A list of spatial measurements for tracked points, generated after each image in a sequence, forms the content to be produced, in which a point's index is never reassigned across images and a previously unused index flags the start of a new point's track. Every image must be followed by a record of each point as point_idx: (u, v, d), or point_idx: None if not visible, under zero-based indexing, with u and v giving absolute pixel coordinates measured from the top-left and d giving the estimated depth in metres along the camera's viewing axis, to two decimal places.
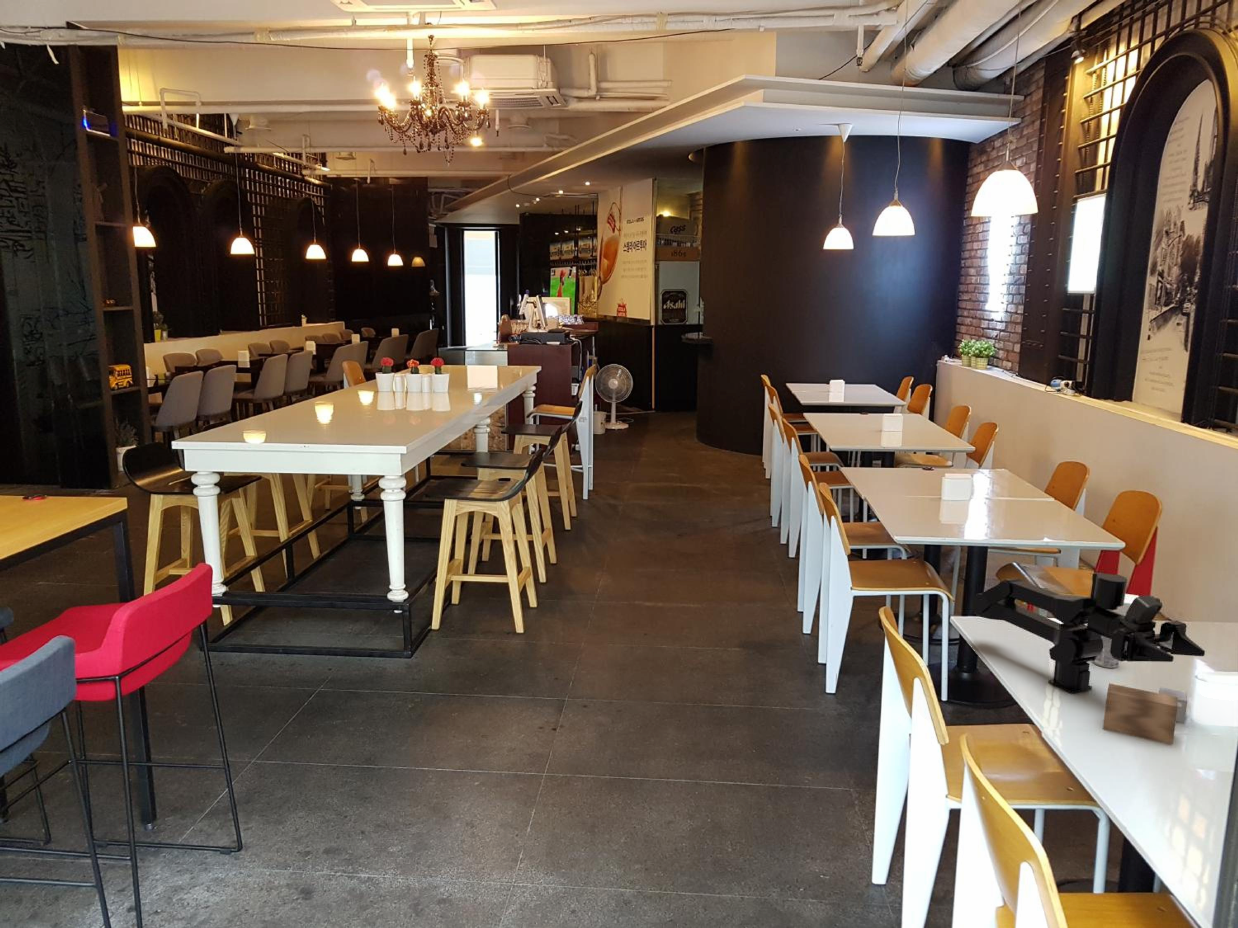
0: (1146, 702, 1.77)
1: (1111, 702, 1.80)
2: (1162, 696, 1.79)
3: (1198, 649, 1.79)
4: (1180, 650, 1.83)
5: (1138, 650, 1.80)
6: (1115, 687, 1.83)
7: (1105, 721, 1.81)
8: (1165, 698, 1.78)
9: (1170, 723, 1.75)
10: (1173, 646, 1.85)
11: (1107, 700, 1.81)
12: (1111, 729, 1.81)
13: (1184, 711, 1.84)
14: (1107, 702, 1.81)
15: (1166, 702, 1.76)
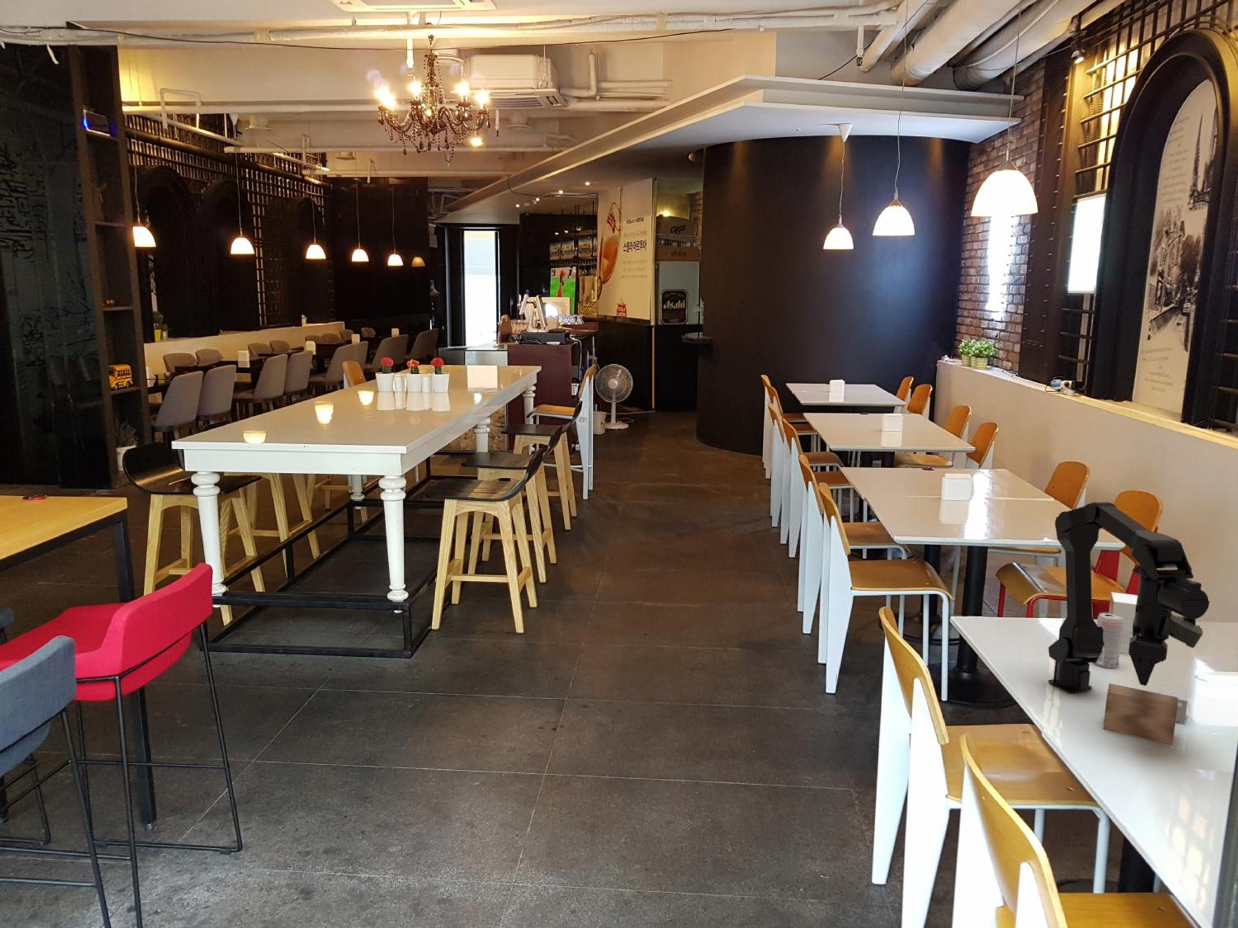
0: (1146, 702, 1.77)
1: (1111, 702, 1.80)
2: (1162, 696, 1.79)
3: None
4: None
5: None
6: (1115, 687, 1.83)
7: (1105, 721, 1.81)
8: (1165, 698, 1.78)
9: (1170, 723, 1.75)
10: None
11: (1107, 700, 1.81)
12: (1111, 729, 1.81)
13: (1184, 711, 1.84)
14: (1107, 702, 1.81)
15: (1166, 702, 1.76)
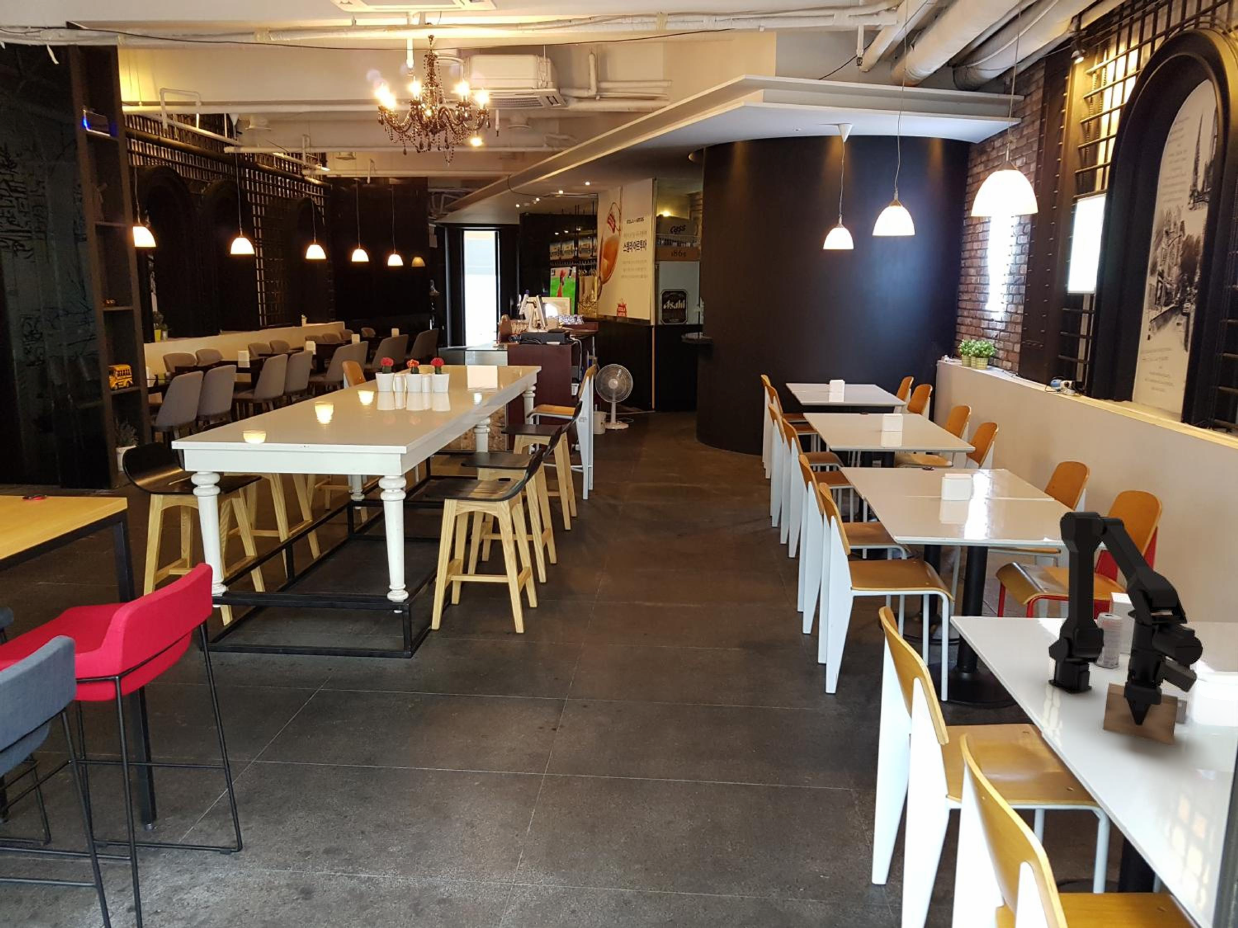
0: None
1: (1112, 701, 1.80)
2: (1162, 696, 1.79)
3: None
4: None
5: None
6: (1115, 687, 1.83)
7: (1105, 721, 1.81)
8: (1165, 697, 1.78)
9: (1170, 723, 1.75)
10: None
11: (1107, 700, 1.81)
12: (1111, 729, 1.81)
13: (1184, 711, 1.84)
14: (1107, 702, 1.81)
15: (1166, 701, 1.76)
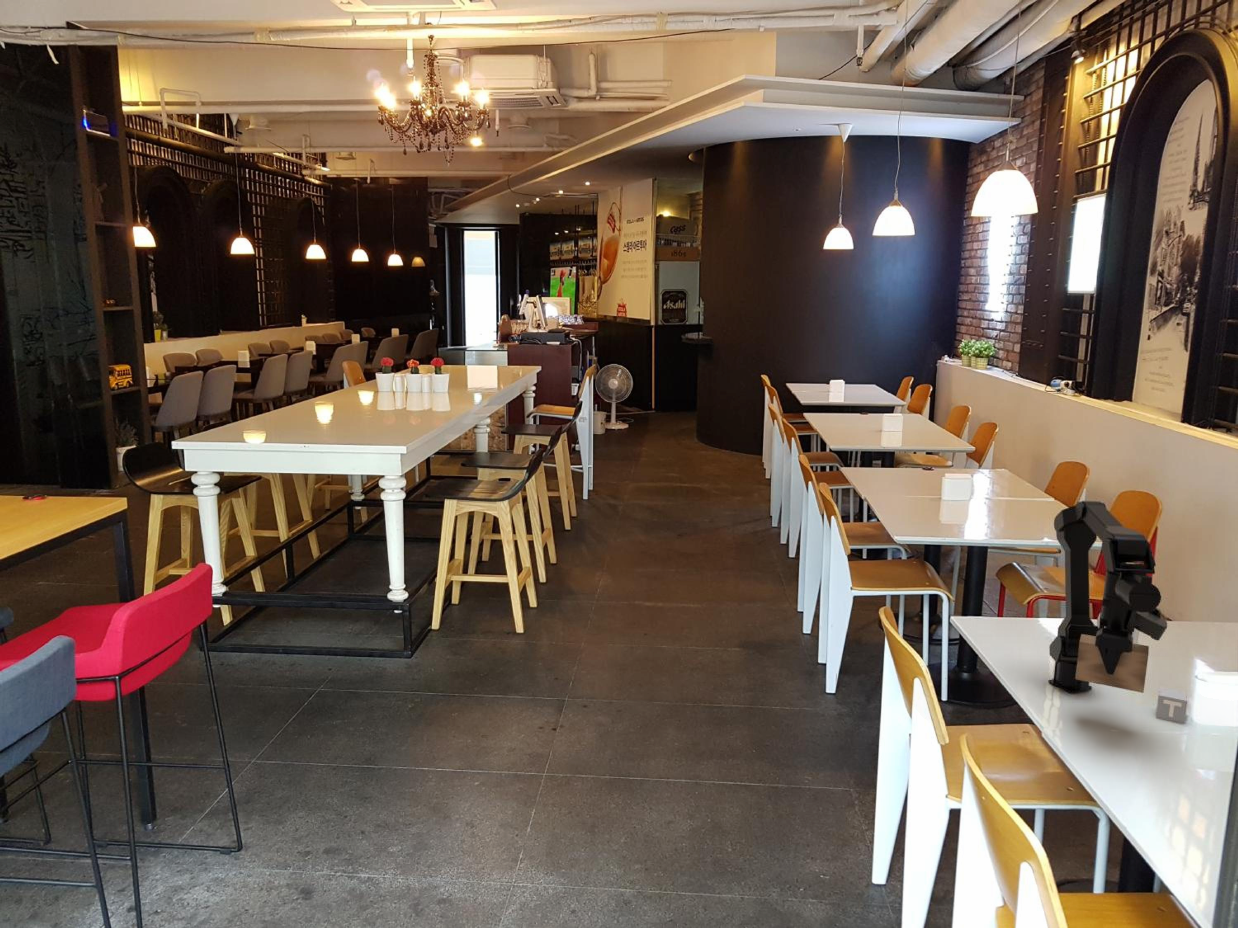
0: None
1: (1084, 651, 1.81)
2: (1133, 645, 1.80)
3: None
4: None
5: None
6: (1087, 637, 1.84)
7: (1077, 671, 1.83)
8: (1136, 646, 1.79)
9: (1141, 671, 1.77)
10: None
11: (1079, 650, 1.82)
12: (1083, 679, 1.82)
13: (1184, 711, 1.84)
14: (1079, 652, 1.82)
15: (1137, 650, 1.77)
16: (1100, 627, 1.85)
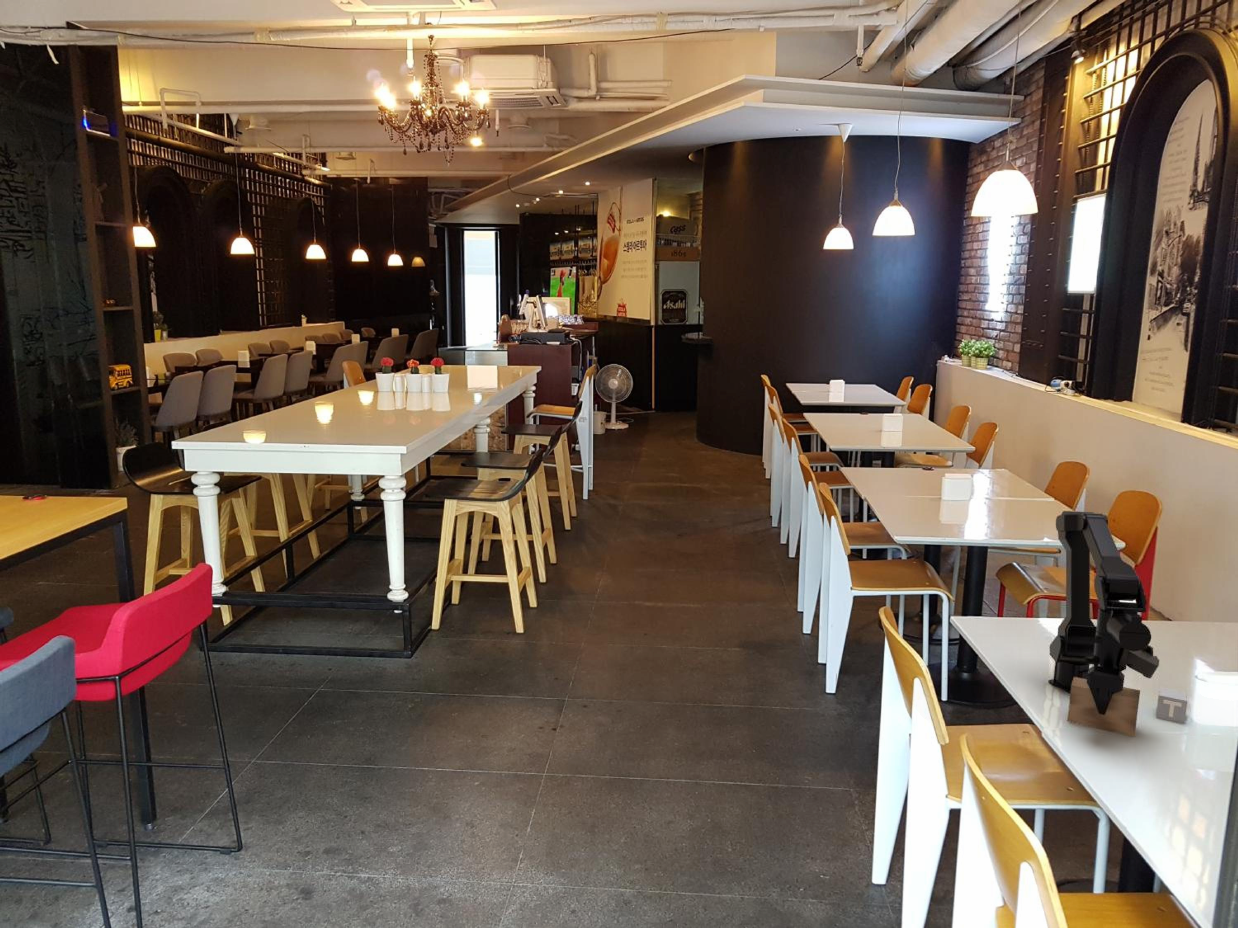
0: None
1: (1075, 695, 1.83)
2: (1125, 689, 1.82)
3: None
4: None
5: None
6: (1080, 680, 1.86)
7: (1069, 714, 1.84)
8: (1128, 691, 1.81)
9: (1132, 716, 1.78)
10: None
11: (1071, 693, 1.84)
12: (1075, 722, 1.84)
13: (1184, 711, 1.84)
14: (1071, 695, 1.84)
15: (1128, 695, 1.79)
16: None
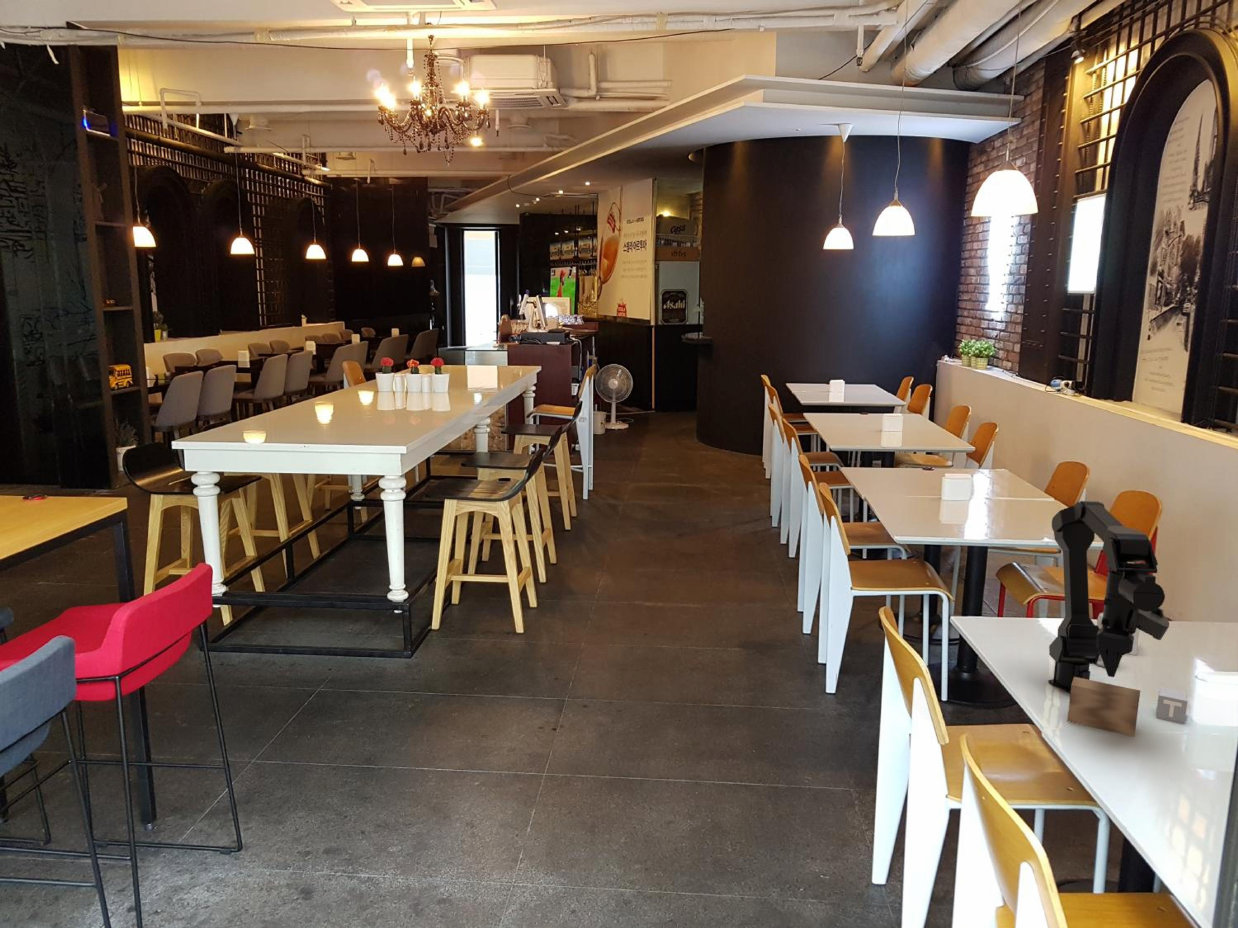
0: (1108, 695, 1.80)
1: (1075, 695, 1.83)
2: (1125, 689, 1.82)
3: None
4: None
5: None
6: (1080, 680, 1.86)
7: (1069, 714, 1.85)
8: (1128, 691, 1.81)
9: (1132, 716, 1.78)
10: None
11: (1071, 693, 1.84)
12: (1075, 721, 1.84)
13: (1184, 711, 1.84)
14: (1071, 695, 1.84)
15: (1128, 695, 1.79)
16: None
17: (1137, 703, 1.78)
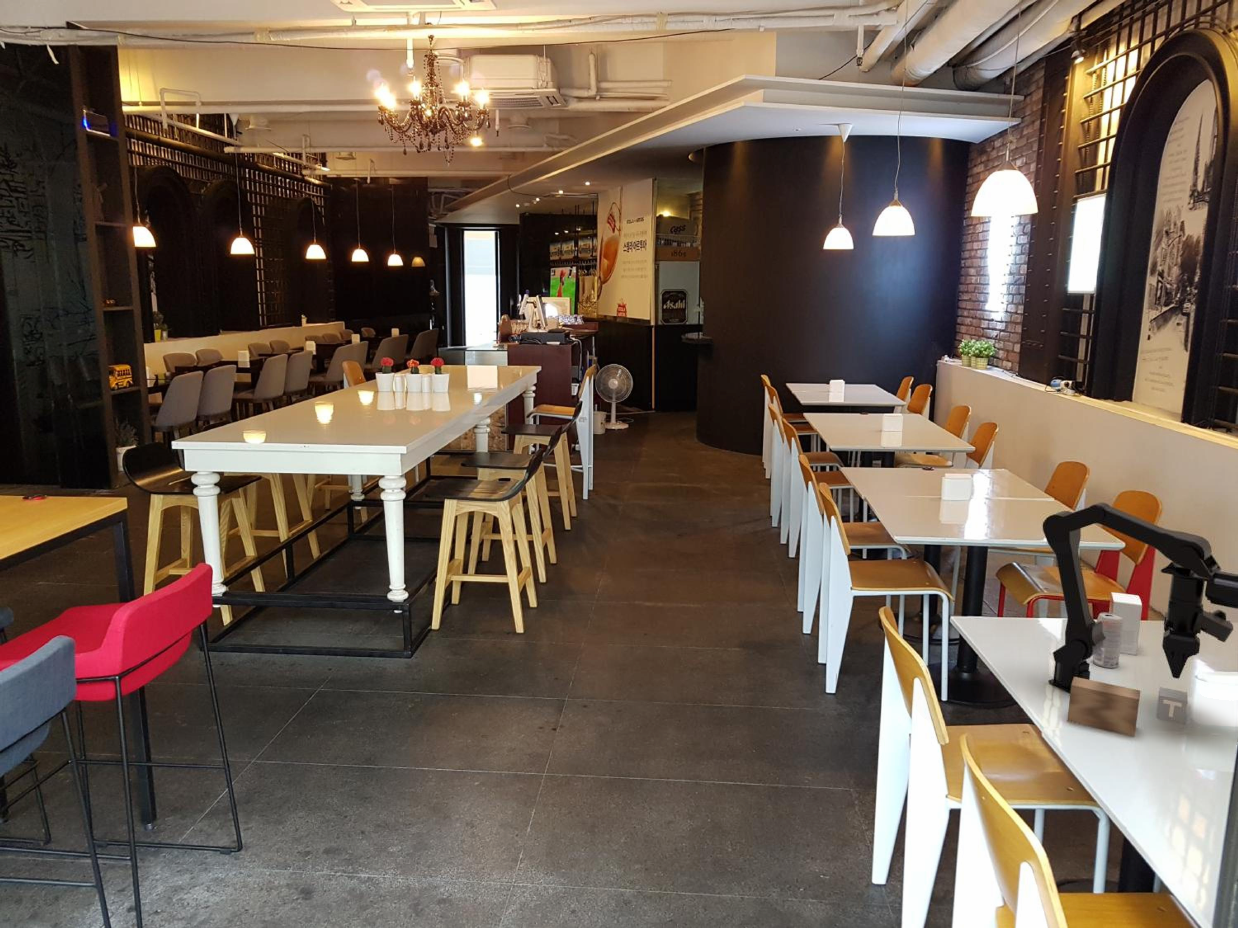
0: (1108, 695, 1.80)
1: (1075, 694, 1.83)
2: (1125, 689, 1.82)
3: None
4: None
5: None
6: (1080, 680, 1.86)
7: (1069, 714, 1.85)
8: (1128, 691, 1.81)
9: (1132, 716, 1.78)
10: None
11: (1071, 693, 1.84)
12: (1075, 721, 1.84)
13: (1184, 711, 1.84)
14: (1071, 695, 1.84)
15: (1128, 695, 1.79)
16: (1165, 626, 1.92)
17: (1137, 703, 1.78)
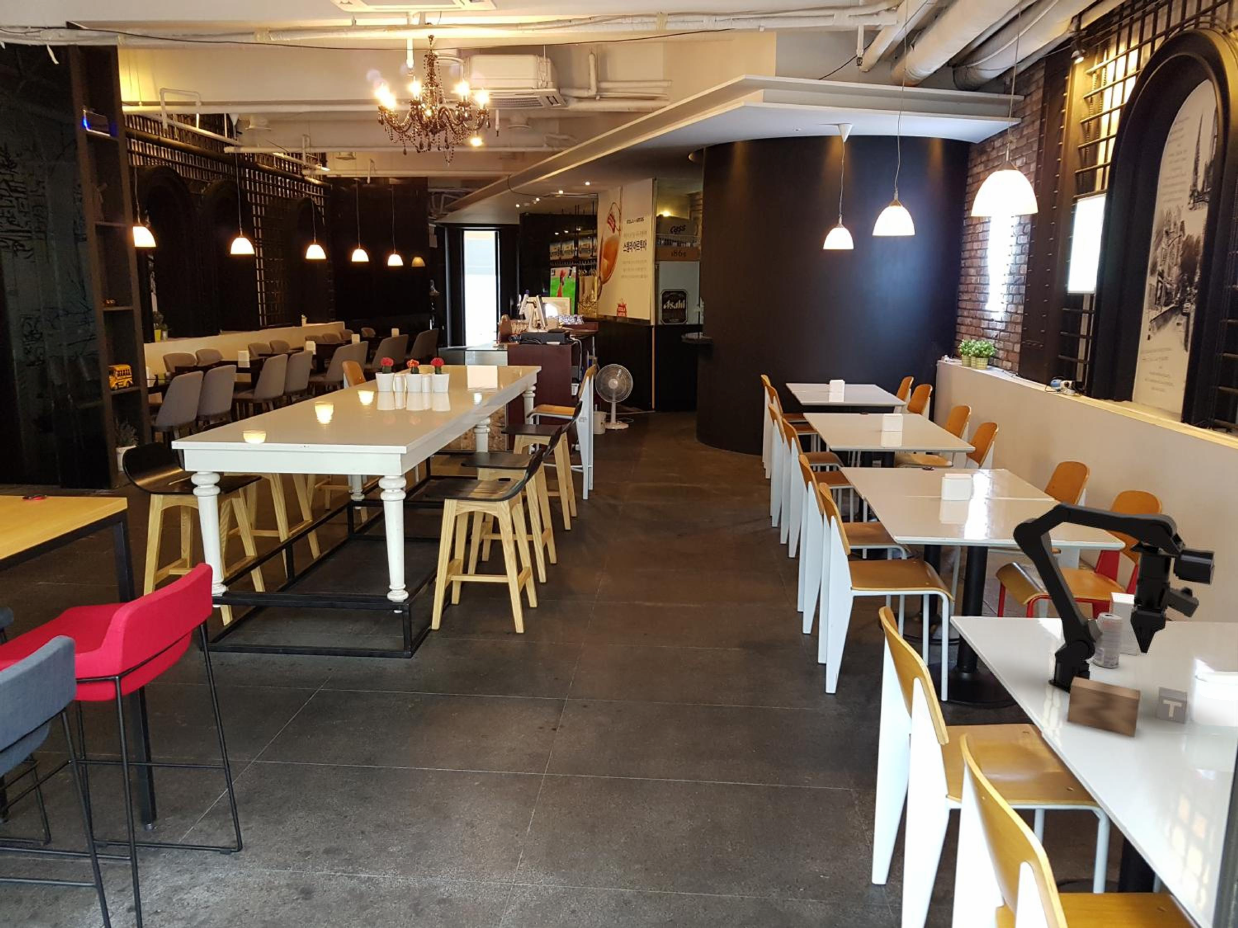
0: (1108, 695, 1.80)
1: (1075, 694, 1.83)
2: (1125, 689, 1.82)
3: None
4: None
5: None
6: (1080, 680, 1.86)
7: (1069, 713, 1.85)
8: (1128, 691, 1.81)
9: (1132, 716, 1.78)
10: None
11: (1071, 693, 1.84)
12: (1075, 721, 1.84)
13: (1184, 711, 1.85)
14: (1071, 695, 1.84)
15: (1128, 695, 1.79)
16: (1135, 604, 1.97)
17: (1137, 703, 1.78)
